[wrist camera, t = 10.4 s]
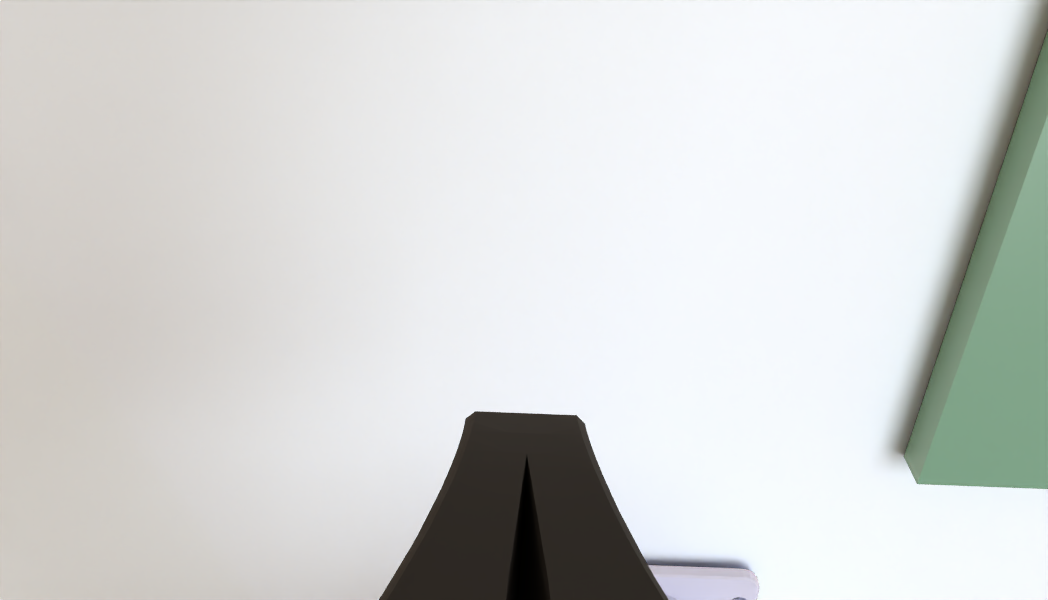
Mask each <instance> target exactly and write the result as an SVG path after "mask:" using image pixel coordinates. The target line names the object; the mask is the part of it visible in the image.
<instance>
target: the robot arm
mask: <svg viewBox="0 0 1048 600" xmlns="http://www.w3.org/2000/svg"><path fill="white" fill-rule="evenodd" d="M758 594H759V583H758V579H757V576H756V575H755V574H754V573H753V572H752V571H750V570H747V569H740V568H712V567H684V566H657V565H648V564H647V563H646V561H645V559H644V557H643V556H642V554H641V552H640V550H639V548H638V546H637V544H636V542H635V541H634V539H633V537H632V535H631V533H630V531H629V529H628V527H627V525H626V523H625V521H624V520H623V518H622V516H621V514H620V512H619V510H618V508H617V506H616V503H615V501H614V499H613V497H612V495H611V493H610V490H609V488H608V486H607V484H606V481H605V479H604V477H603V475H602V472H601V470H600V467H599V465H598V462H597V460H596V457H595V455H594V452H593V449H592V446H591V444H590V441H589V438H588V434H587V431H586V427H585V423H584V422H583V421H582V420H581V419H580V418H579V417H578V416H577V415H552V414H527V413H501V412H476V411H475V412H474V413H473V414H471V415H470V416H469V417H467V418H466V420H465V425H464V430H463V434H462V437H461V440H460V443H459V446H458V449H457V452H456V455H455V457H454V460H453V463H452V465H451V467H450V470H449V472H448V474H447V477H446V479H445V481H444V484H443V486H442V488H441V490H440V492H439V494H438V496H437V498H436V500H435V502H434V504H433V506H432V508H431V510H430V512H429V514H428V516H427V518H426V520H425V522H424V524H423V526H422V528H421V530H420V532H419V534H418V536H417V537H416V539H415V541H414V543H413V545H412V546H411V548H410V550H409V551H408V553H407V555H406V556H405V558H404V560H403V561H402V563H401V565H400V566H399V568H398V570H397V571H396V573H395V575H394V576H393V578H392V580H391V581H390V583H389V585H388V586H387V588H386V590H385V591H384V593H383V594H382V596H381V597H380V599H379V600H757V597H758ZM737 597H740V598H737ZM734 598H737V599H734Z"/></svg>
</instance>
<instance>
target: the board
mask: <svg viewBox="0 0 1048 600" xmlns="http://www.w3.org/2000/svg"><path fill="white" fill-rule="evenodd" d="M904 458H905V460H906V462H907V464H908V466H909V468H910V470H911V472H912V474H913V476H914V479H915V481H916V483H917V484H931V485H958V486H984V487H1010V488H1037V489H1048V31H1047V34H1046V37H1045V40H1044V43H1043V46H1042V49H1041V52H1040V55H1039V58H1038V61H1037V64H1036V67H1035V70H1034V73H1033V76H1032V78H1031V81H1030V84H1029V87H1028V90H1027V93H1026V96H1025V99H1024V102H1023V105H1022V108H1021V111H1020V114H1019V117H1018V120H1017V123H1016V126H1015V129H1014V132H1013V135H1012V138H1011V141H1010V144H1009V147H1008V150H1007V153H1006V156H1005V158H1004V161H1003V164H1002V167H1001V170H1000V173H999V176H998V179H997V182H996V185H995V188H994V191H993V194H992V197H991V200H990V203H989V206H988V209H987V212H986V215H985V218H984V221H983V224H982V227H981V230H980V233H979V236H978V239H977V241H976V244H975V247H974V250H973V253H972V256H971V259H970V262H969V265H968V268H967V271H966V274H965V277H964V280H963V283H962V286H961V289H960V292H959V295H958V298H957V301H956V304H955V307H954V310H953V313H952V316H951V319H950V321H949V324H948V327H947V330H946V333H945V336H944V339H943V342H942V345H941V348H940V351H939V354H938V357H937V360H936V363H935V366H934V369H933V372H932V375H931V378H930V381H929V384H928V387H927V390H926V393H925V396H924V399H923V401H922V404H921V407H920V410H919V413H918V416H917V419H916V422H915V425H914V428H913V431H912V434H911V437H910V440H909V443H908V446H907V449H906V452H905V455H904Z"/></svg>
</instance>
